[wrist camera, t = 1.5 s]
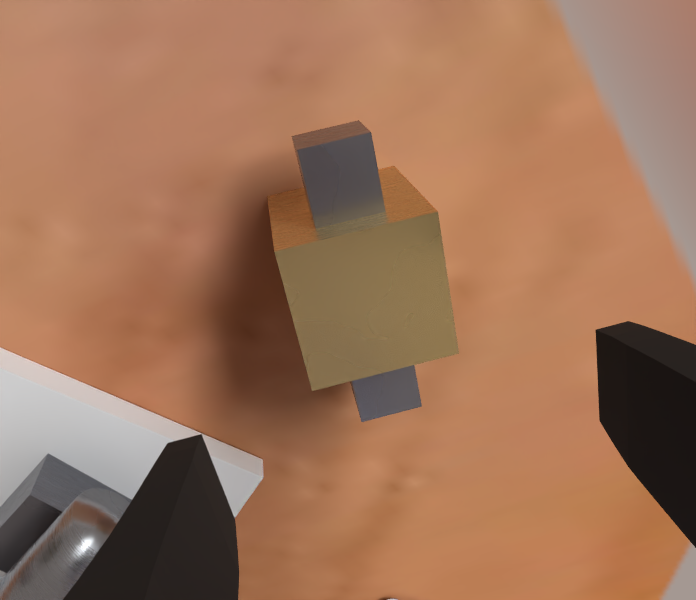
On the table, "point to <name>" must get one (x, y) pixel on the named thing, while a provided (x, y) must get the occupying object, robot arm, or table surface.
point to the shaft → (54, 530)
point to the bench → (96, 434)
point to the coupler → (362, 271)
